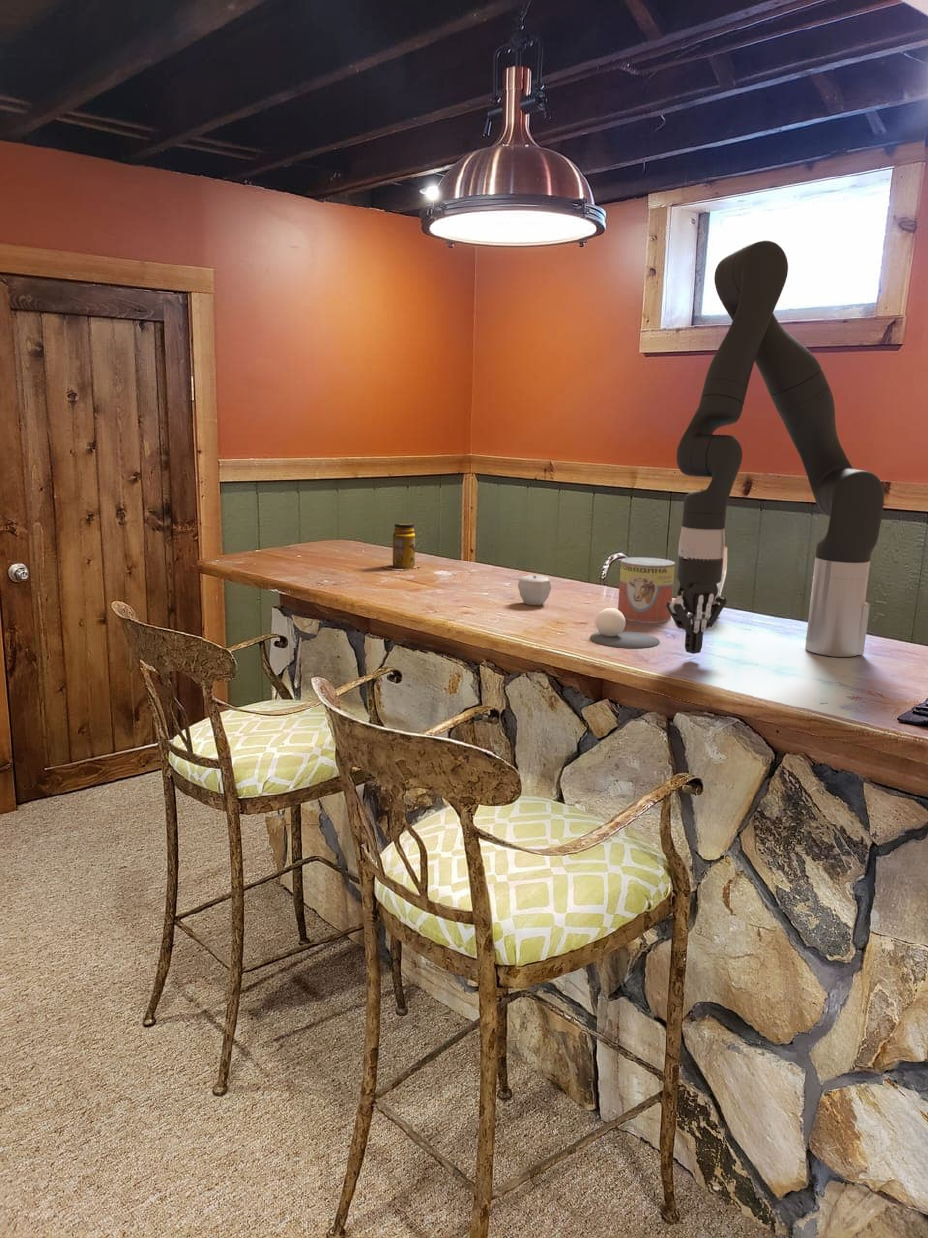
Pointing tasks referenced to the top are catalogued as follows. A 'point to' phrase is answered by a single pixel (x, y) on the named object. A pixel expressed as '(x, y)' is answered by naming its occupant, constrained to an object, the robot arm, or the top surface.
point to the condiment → (403, 547)
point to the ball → (610, 622)
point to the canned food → (646, 588)
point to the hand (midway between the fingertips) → (692, 652)
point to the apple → (534, 589)
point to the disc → (626, 640)
